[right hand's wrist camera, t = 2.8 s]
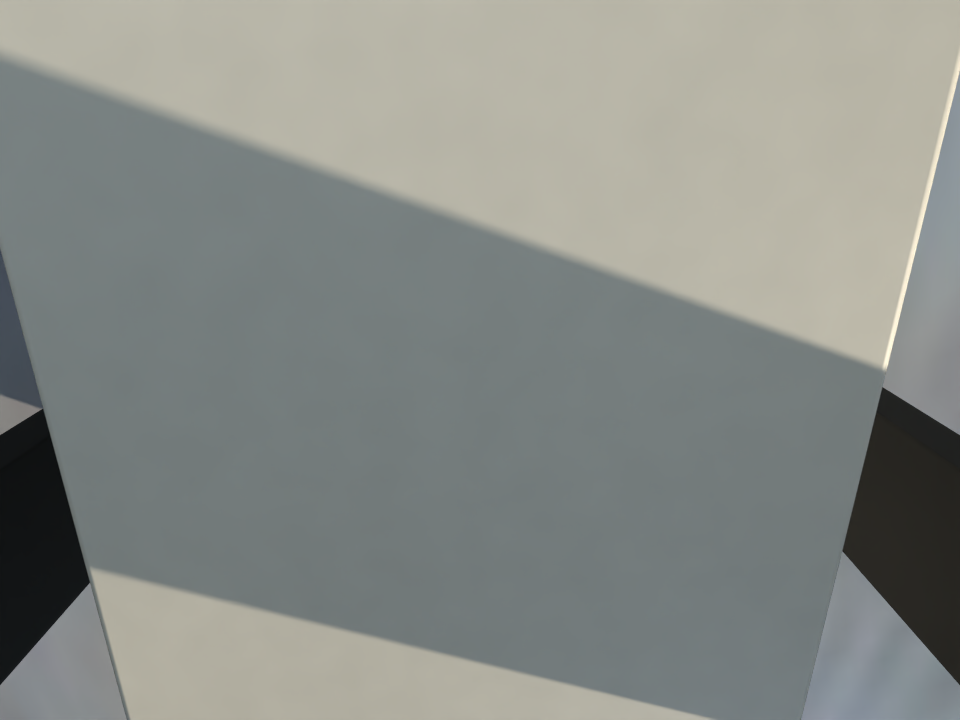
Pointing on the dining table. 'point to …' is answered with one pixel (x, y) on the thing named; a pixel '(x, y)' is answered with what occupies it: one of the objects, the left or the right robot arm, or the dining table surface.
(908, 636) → the dining table surface
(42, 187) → the box
